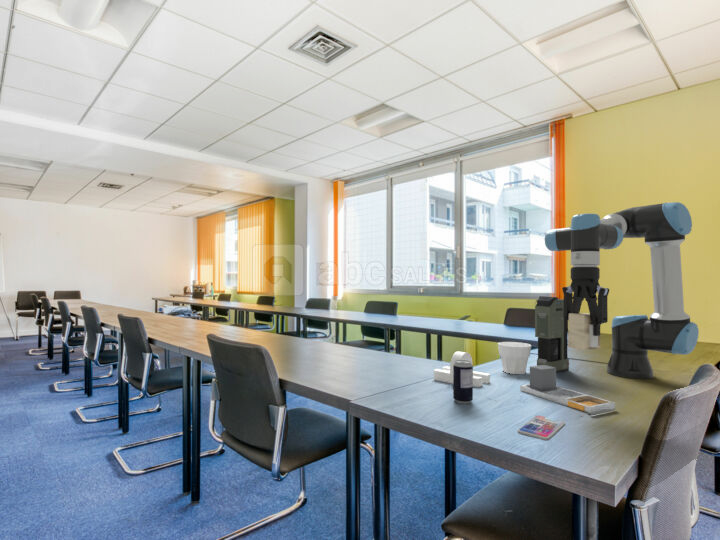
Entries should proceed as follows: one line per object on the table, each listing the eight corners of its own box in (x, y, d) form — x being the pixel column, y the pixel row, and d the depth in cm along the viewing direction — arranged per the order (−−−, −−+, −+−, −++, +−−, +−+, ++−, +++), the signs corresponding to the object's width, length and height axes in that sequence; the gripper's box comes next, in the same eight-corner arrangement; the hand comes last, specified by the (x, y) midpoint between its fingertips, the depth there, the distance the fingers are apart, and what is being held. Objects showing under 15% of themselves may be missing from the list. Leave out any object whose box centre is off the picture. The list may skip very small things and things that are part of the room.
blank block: (544, 389, 134) (544, 364, 134) (556, 392, 130) (556, 367, 130) (529, 391, 131) (529, 366, 131) (541, 395, 127) (541, 369, 127)
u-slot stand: (446, 375, 155) (446, 347, 155) (491, 384, 143) (491, 353, 143) (432, 380, 148) (432, 350, 148) (478, 389, 136) (478, 357, 136)
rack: (543, 388, 137) (543, 382, 137) (614, 410, 115) (614, 402, 115) (519, 392, 132) (519, 385, 132) (589, 415, 110) (589, 407, 110)
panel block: (584, 346, 123) (584, 313, 123) (600, 348, 118) (600, 314, 119) (568, 347, 120) (568, 313, 120) (583, 350, 115) (584, 314, 116)
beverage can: (473, 399, 124) (473, 360, 124) (472, 405, 118) (472, 364, 118) (454, 397, 125) (454, 359, 126) (452, 403, 120) (452, 362, 120)
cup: (492, 368, 166) (492, 341, 166) (521, 368, 167) (521, 341, 168) (506, 376, 154) (506, 347, 154) (537, 375, 155) (537, 346, 155)
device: (550, 375, 155) (550, 297, 156) (532, 371, 162) (532, 296, 162) (570, 370, 163) (570, 296, 164) (552, 367, 170) (552, 295, 170)
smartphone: (566, 421, 104) (547, 438, 93) (566, 425, 104) (547, 442, 93) (536, 414, 109) (515, 429, 98) (536, 418, 109) (515, 433, 98)
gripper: (550, 266, 126) (549, 341, 126) (606, 265, 110) (605, 351, 109) (566, 267, 129) (566, 340, 129) (623, 266, 113) (623, 349, 112)
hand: (584, 345), depth 119 cm, fingers closed on panel block, 5 cm apart
